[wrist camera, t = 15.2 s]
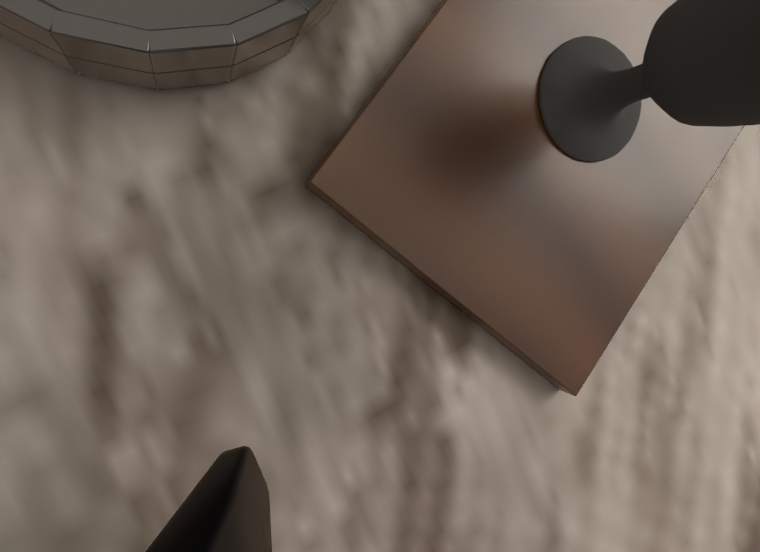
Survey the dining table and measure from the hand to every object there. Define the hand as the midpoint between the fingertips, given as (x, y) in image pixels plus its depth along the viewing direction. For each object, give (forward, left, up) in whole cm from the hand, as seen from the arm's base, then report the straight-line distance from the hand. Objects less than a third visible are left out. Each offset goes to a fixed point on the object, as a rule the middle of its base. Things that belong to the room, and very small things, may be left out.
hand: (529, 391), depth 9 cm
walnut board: (+6, -12, -12) cm, 18 cm away
